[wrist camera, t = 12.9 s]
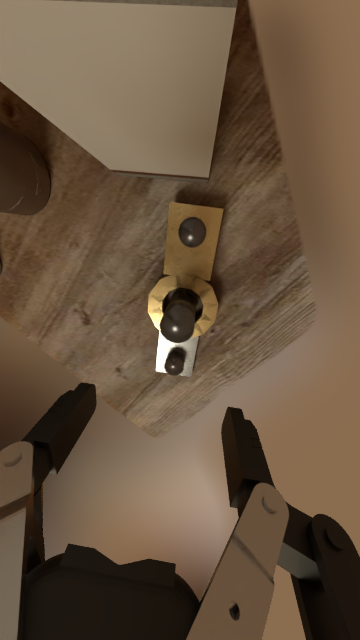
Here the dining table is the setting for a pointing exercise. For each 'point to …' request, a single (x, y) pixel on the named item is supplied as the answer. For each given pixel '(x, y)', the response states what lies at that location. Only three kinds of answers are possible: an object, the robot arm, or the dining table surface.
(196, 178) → the beige rectangular tower
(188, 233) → the tan piece
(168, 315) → the pin
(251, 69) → the dining table surface
